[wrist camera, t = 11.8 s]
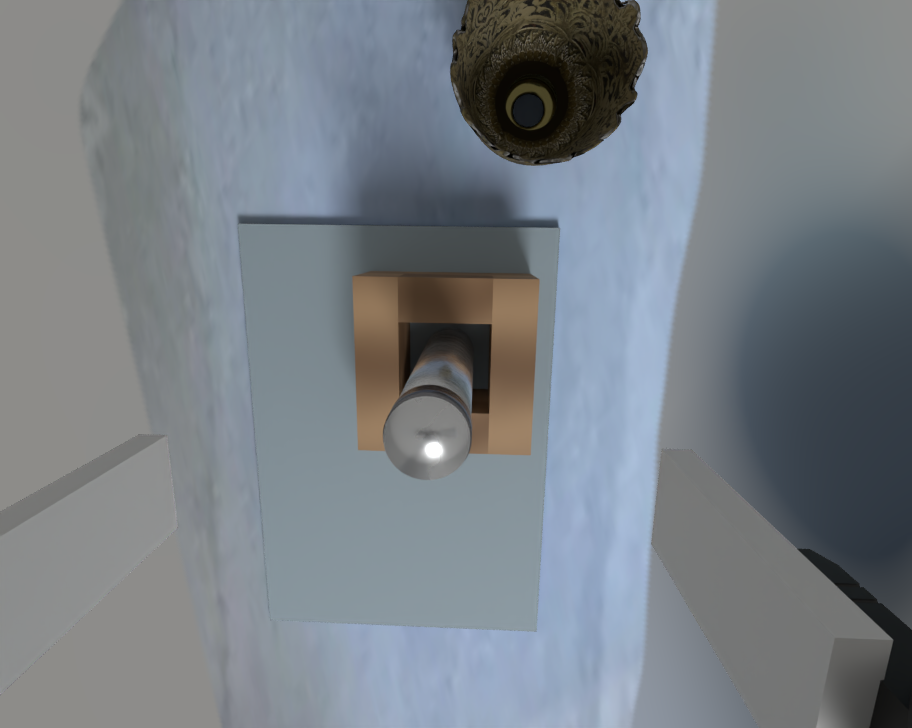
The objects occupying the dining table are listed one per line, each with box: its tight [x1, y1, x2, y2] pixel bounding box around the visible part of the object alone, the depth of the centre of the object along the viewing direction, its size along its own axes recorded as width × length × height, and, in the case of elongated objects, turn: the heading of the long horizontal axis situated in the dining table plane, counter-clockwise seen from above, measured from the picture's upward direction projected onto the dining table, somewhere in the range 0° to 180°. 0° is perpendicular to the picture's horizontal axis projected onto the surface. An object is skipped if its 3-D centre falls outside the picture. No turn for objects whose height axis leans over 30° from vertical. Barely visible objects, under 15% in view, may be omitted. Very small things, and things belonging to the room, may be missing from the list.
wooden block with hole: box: [352, 271, 540, 455], centre depth 28 cm, size 9×9×4 cm
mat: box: [238, 224, 560, 632], centre depth 32 cm, size 26×18×1 cm
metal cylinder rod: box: [383, 327, 474, 480], centre depth 23 cm, size 3×3×14 cm
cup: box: [450, 0, 648, 166], centre depth 23 cm, size 7×7×8 cm
